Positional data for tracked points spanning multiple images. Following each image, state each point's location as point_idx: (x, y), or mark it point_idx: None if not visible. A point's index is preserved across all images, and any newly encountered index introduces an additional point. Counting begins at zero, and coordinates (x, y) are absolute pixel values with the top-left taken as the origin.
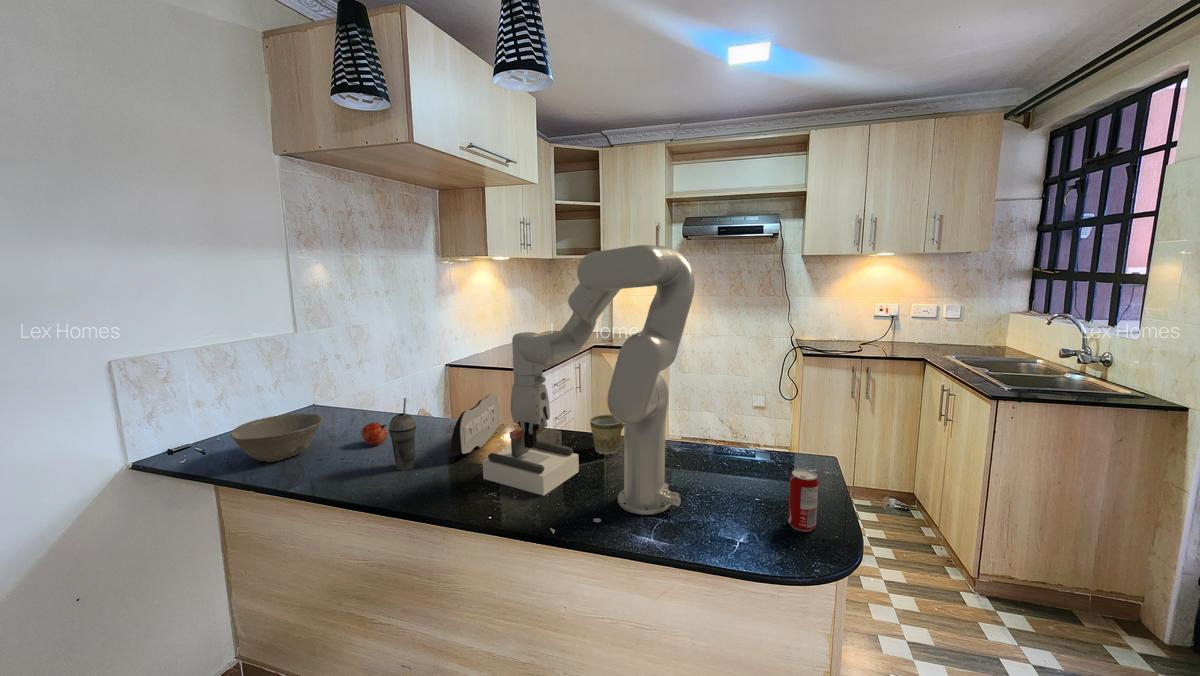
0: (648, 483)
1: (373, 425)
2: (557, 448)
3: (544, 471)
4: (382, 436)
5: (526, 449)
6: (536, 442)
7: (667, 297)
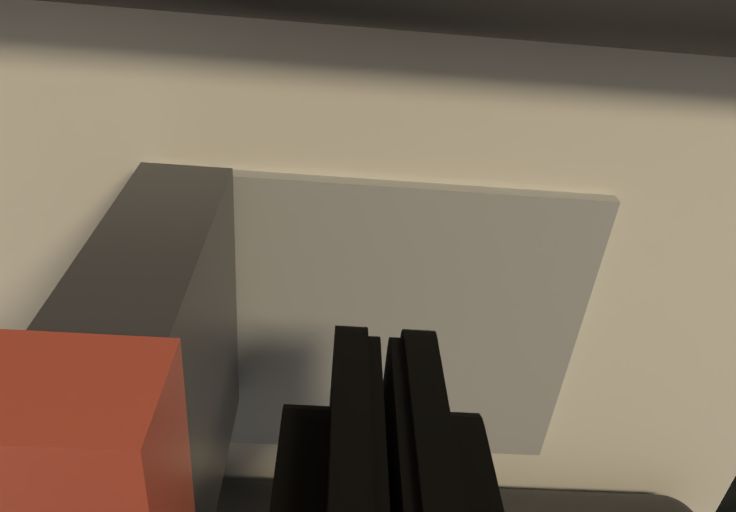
0: None
1: None
2: (722, 54)
3: (679, 479)
4: None
5: (228, 245)
6: (480, 417)
7: None
